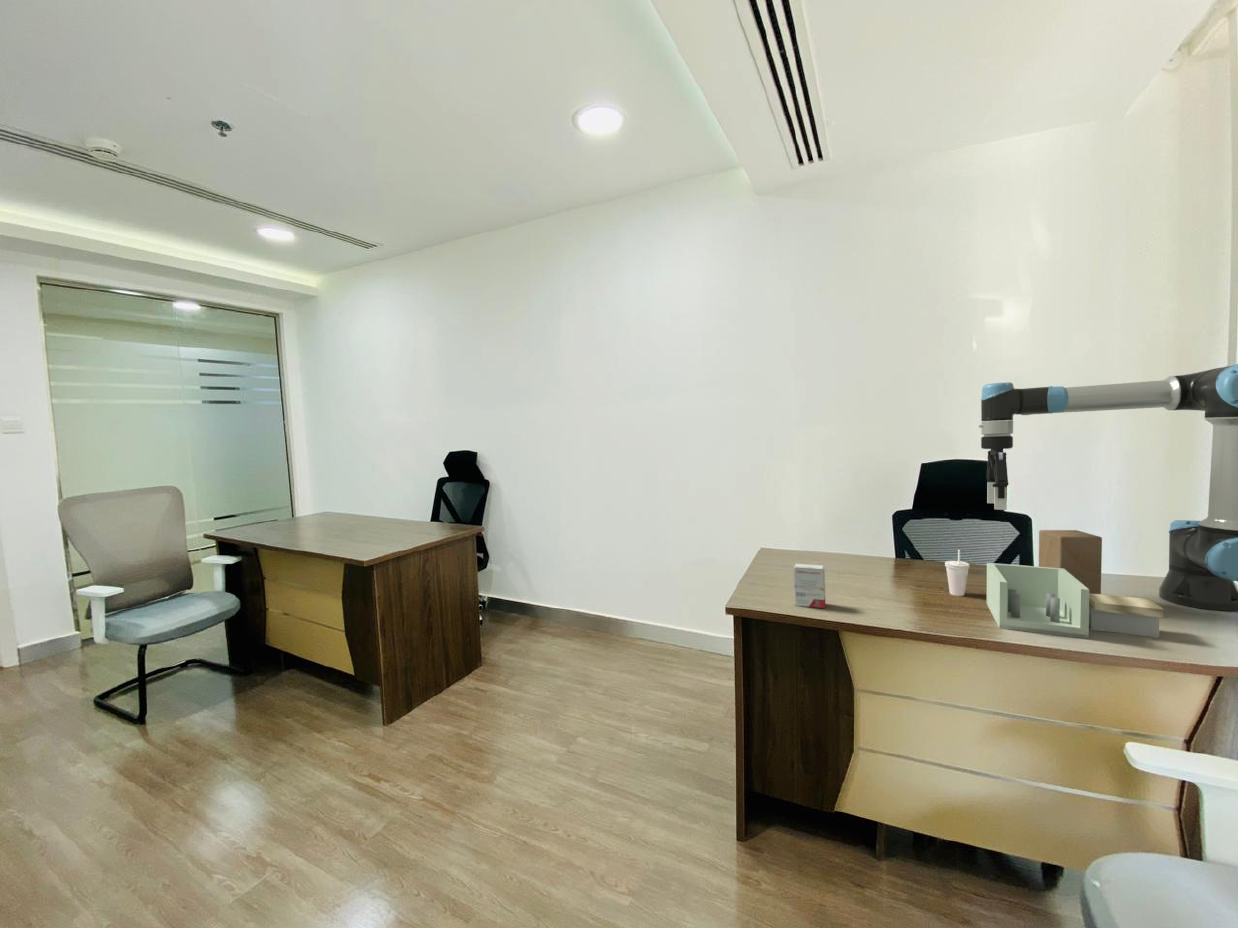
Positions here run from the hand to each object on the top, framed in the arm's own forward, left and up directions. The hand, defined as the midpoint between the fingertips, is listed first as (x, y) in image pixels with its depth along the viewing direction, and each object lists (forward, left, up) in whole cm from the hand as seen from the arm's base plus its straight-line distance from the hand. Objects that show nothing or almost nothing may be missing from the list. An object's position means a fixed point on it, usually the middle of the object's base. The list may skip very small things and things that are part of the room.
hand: (996, 506), depth 148 cm
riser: (-22, +20, -27) cm, 40 cm away
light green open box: (-5, +20, -27) cm, 34 cm away
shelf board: (-22, +20, -22) cm, 37 cm away
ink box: (+49, +30, -28) cm, 64 cm away
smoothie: (+10, +3, -28) cm, 29 cm away
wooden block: (-17, -1, -28) cm, 32 cm away
